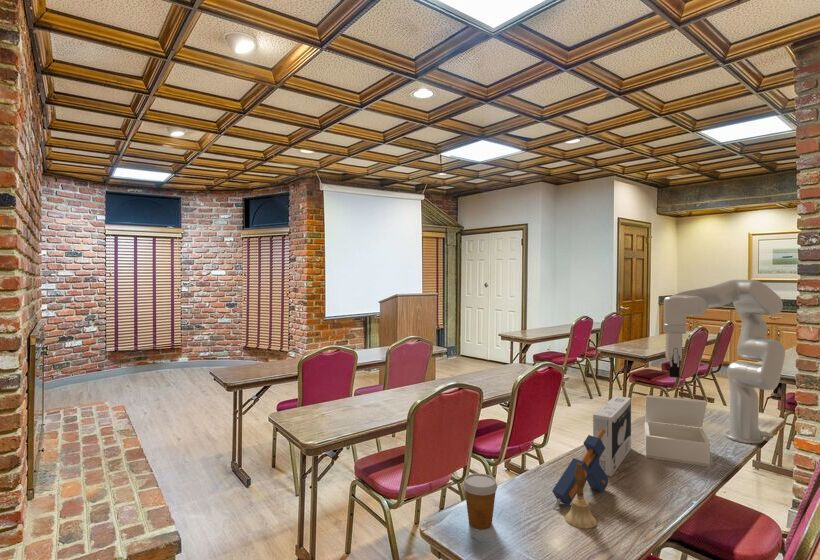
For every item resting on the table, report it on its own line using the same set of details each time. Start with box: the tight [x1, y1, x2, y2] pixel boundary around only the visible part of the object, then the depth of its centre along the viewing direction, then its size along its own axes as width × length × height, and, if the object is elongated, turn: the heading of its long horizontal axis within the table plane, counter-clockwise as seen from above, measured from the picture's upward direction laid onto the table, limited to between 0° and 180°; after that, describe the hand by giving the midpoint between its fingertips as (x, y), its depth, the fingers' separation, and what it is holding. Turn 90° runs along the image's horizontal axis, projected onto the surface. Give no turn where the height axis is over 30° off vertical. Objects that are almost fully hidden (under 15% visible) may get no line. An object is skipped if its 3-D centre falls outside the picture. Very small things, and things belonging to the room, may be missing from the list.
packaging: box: [592, 395, 632, 477], centre depth 169 cm, size 30×6×20 cm, turn 143°
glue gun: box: [552, 429, 609, 510], centre depth 142 cm, size 6×31×15 cm
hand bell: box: [564, 463, 598, 530], centre depth 127 cm, size 8×8×16 cm
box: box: [644, 421, 711, 468], centre depth 174 cm, size 20×18×8 cm
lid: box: [644, 394, 708, 428], centre depth 177 cm, size 20×18×1 cm
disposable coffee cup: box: [462, 472, 499, 530], centre depth 126 cm, size 10×10×12 cm
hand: (674, 376), depth 175 cm, fingers closed
